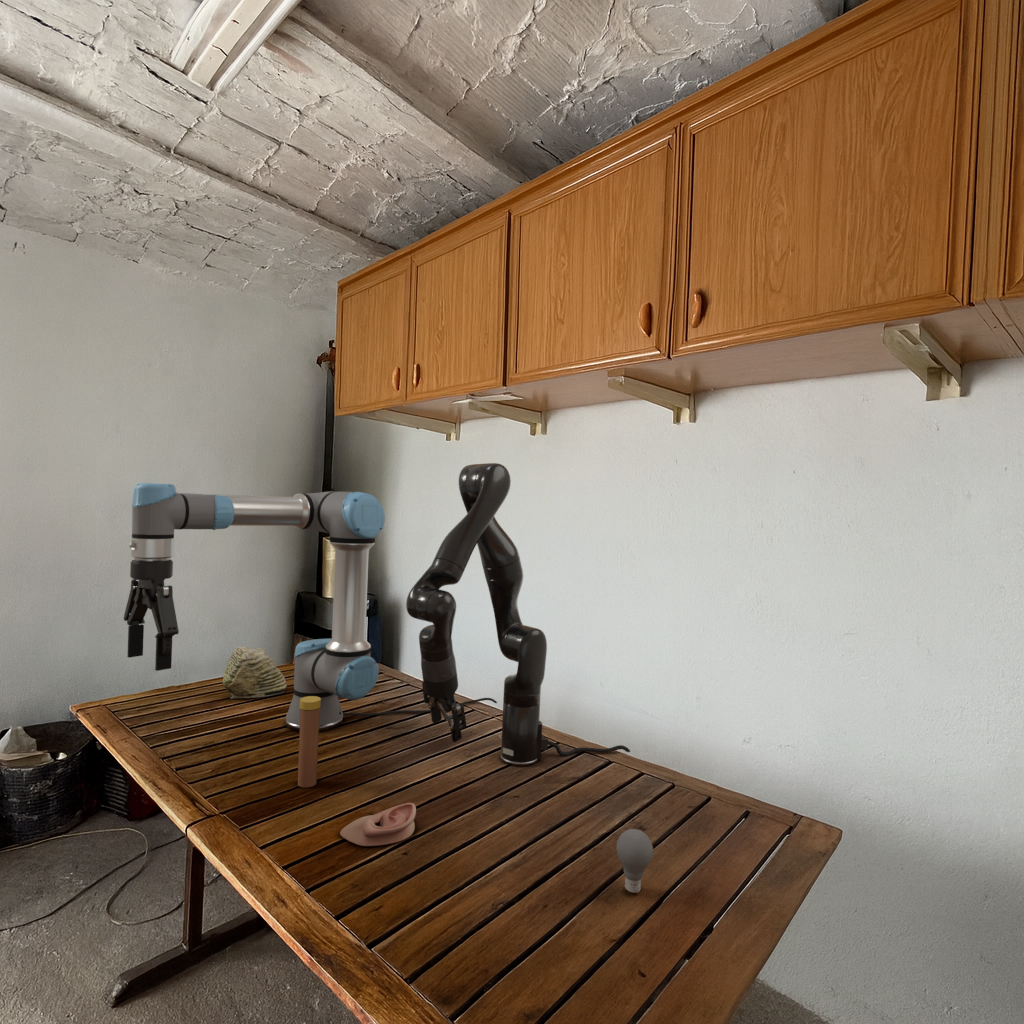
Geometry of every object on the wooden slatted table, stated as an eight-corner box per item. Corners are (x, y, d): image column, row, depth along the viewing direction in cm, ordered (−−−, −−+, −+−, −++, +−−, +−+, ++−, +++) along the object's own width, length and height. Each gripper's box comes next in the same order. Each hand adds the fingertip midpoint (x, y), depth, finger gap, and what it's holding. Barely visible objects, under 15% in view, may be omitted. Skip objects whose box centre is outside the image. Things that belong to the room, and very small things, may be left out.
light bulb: (610, 879, 108) (613, 822, 108) (644, 879, 109) (647, 822, 109) (619, 902, 102) (622, 840, 102) (655, 901, 103) (658, 840, 103)
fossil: (218, 695, 195) (220, 647, 195) (278, 685, 208) (279, 640, 207) (228, 703, 189) (230, 653, 188) (289, 692, 201) (290, 645, 201)
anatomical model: (332, 820, 116) (360, 792, 128) (332, 841, 116) (359, 811, 128) (400, 830, 114) (422, 801, 125) (400, 852, 114) (421, 821, 125)
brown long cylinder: (306, 789, 137) (309, 705, 137) (293, 784, 139) (296, 701, 139) (320, 782, 140) (323, 700, 140) (308, 777, 142) (311, 697, 142)
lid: (309, 711, 136) (309, 703, 136) (295, 707, 139) (295, 699, 139) (324, 706, 140) (325, 698, 140) (311, 702, 142) (311, 694, 142)
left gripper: (108, 554, 134) (104, 654, 134) (159, 565, 118) (155, 678, 119) (146, 552, 140) (143, 648, 140) (199, 563, 124) (195, 671, 124)
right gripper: (471, 678, 136) (477, 738, 141) (436, 650, 146) (444, 708, 152) (441, 693, 131) (449, 755, 137) (408, 663, 142) (416, 722, 148)
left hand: (148, 662), depth 129 cm, fingers open, 13 cm apart
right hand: (446, 730), depth 145 cm, fingers open, 8 cm apart
